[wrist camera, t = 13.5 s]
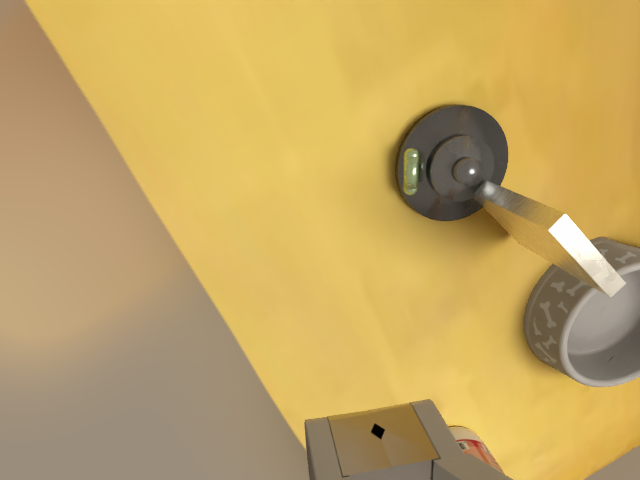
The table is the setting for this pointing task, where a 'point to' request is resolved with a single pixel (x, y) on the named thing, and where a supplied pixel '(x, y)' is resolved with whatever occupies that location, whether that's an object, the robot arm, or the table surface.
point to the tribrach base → (422, 143)
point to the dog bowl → (588, 321)
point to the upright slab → (517, 211)
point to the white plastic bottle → (473, 445)
